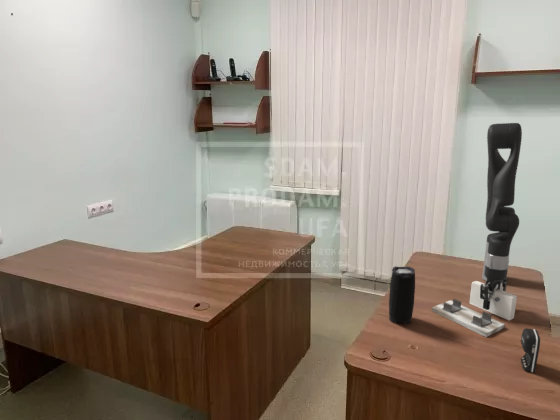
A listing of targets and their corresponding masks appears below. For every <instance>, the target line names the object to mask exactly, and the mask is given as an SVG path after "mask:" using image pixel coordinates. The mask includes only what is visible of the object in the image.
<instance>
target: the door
mask: <svg viewBox="0 0 560 420" xmlns="http://www.w3.org/2000/svg"><path fill="white" fill-rule="evenodd" d="M481 284H485V283H483V282H482V281H478V280H474V281H472V282H471V287H470V295H469V304H470V305H472V306H474V307H476V308H479V309H482V310H484V311H485V312H486V311H487V313H489V314H493V315H496V316H498V317H500V318H503V319H505V320H507V321H511V320H513V319H515V313H516V305H517V298H518V295H515V294H514V293H511V292H507V291H503V290H500V289H498V290H496V291H495V293H494V295H493V296H492V297H491V300H490V308H489V310H486V309H484V308H483V302H484V300H483V299H481V298H480V286H481ZM488 292H490V293H491V291H489V290H488ZM483 295H484V294H483ZM488 297H489V294H488Z"/></svg>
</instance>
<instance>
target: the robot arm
mask: <svg viewBox="0 0 560 420" xmlns="http://www.w3.org/2000/svg"><path fill="white" fill-rule="evenodd" d="M522 131H523V129H522V125H521V124H520V123H519V122H506V123H503V122H502V123H493V124H490V125H489V126H488V130H487V133H486V134H487V135H486V139H487V140H486V141H487V156H488V157H487V159H488V161H487V179H486V183H487V185H486V186H487V187H486V188H487V201H486V209H485V211H486V212H485V226H486V229H487V230H488V231H490V232H491V233H489V234H488V235H487V237H486V243H485V244H486V245H485V250H484V251H485V253H484V261H483V267H482V268H483V269H482V276H481V278H482V280H484V281H486V282H485V283H484V284H481V286H480V298H481V299H483V300H484V302H483V308H484V309H486V310H489V308H490V300H491V297H492V296H493V295H494V293H495V291H496V290H498V289H500V290H503V291H505V292H507V291H506V290H507V286H508V281H509V280H508V278H507V277H508V270H509V263H510V252H511V246H512V245H511V244H512V242H513V238H514V236H515V235H516V232H517V230H518V229H519V226H520V217H519V216H518V215H517V214H516V210H515V208H514V207H511V206H513V204H514V203H515V190H516V178H517V173H518V172H517V171H518V166H519V159H520V153H521V145H522V138H523V137H522V136H523V134H522V133H523V132H522ZM499 150H510V151H509V156H508V159H507V160H505V159H504V158H503V157H502V155H501V153H500V151H499ZM488 290H489V291H491V293H490V292H488ZM483 294H484V295H483ZM488 294H489V297H488ZM486 310H485V311H486Z"/></svg>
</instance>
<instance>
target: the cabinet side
mask: <svg viewBox="0 0 560 420" xmlns="http://www.w3.org/2000/svg"><path fill="white" fill-rule="evenodd" d="M431 312H433V313H435V314H437V315H439V316H441V317H443V318H446V319H447V320H449V321H452V322H453V323H456V324H458V325H460V326H463V328H466V329H469V330H470V331H472V332H474V333H475V334H479V335H480V336H483V337H485V338H487V337H489V336H492V335H493V334H495V333H497V332H500V331H501V330H503V329H505V326H506V323H503V322H501V321H499V320H497V319H494V318H493V316H492V313H490V312H488V311H487V312H486V311H485V310H484V311H482V313H480V312H478V311H476V310H474V309H471V308H470V307H467V306H465V305H462V301H461V300H460V299H459V300H458V299H456V298H453V300H451V299H450V300H448V301H445V302H442V303H439V304H437V305H434V306H432V307H431Z"/></svg>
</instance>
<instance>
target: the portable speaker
mask: <svg viewBox="0 0 560 420" xmlns="http://www.w3.org/2000/svg"><path fill="white" fill-rule="evenodd" d="M391 271H392V272H391V278H390V283H389V295H388V296H389V299H388V316H389V318H388V319H389V321H390V322H392V323H393V324H396V323H403V324H404V325H409V324H411V322H412V318H413V313H414V306H415V293H416V270H415V268H414V267H412V266H396V265H395V266H394V267H392V270H391Z"/></svg>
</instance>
